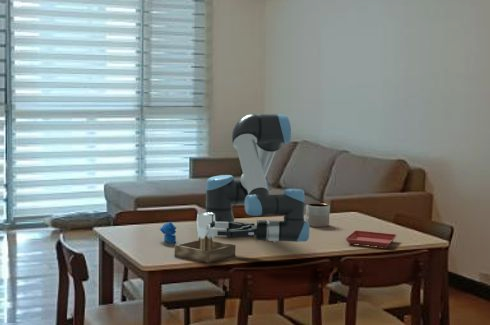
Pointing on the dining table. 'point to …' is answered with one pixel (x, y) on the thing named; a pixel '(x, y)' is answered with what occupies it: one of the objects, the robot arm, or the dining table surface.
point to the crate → (194, 253)
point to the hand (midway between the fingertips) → (209, 228)
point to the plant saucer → (370, 238)
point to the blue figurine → (169, 232)
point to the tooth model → (205, 230)
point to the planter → (317, 214)
